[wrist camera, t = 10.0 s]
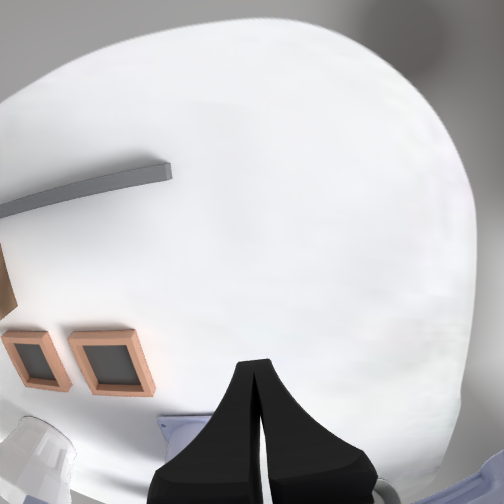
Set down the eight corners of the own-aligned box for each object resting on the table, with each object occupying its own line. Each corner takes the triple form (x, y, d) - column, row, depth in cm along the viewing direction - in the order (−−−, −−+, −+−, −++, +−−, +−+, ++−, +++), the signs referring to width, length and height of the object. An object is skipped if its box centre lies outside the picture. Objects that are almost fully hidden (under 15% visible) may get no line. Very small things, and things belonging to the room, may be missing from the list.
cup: (28, 392, 24) (-16, 459, 14) (108, 459, 27) (86, 530, 17) (-1, 416, 26) (-34, 467, 15) (64, 471, 29) (43, 526, 19)
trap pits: (155, 387, 24) (153, 397, 22) (30, 380, 23) (25, 386, 22) (135, 329, 22) (131, 338, 21) (6, 331, 22) (0, 336, 21)
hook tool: (197, 319, 22) (192, 338, 19) (-30, 325, 21) (-43, 335, 19) (170, 163, 18) (160, 164, 16) (-60, 228, 18) (-75, 234, 16)
